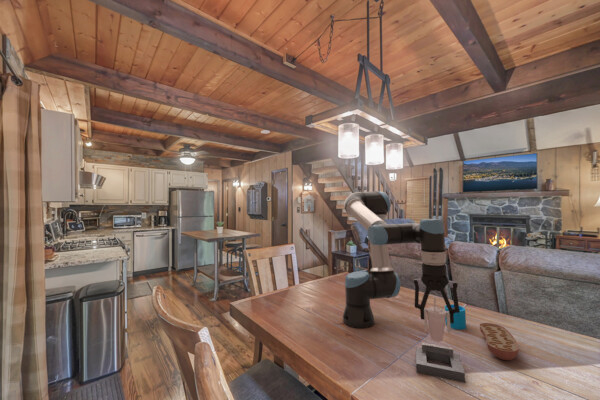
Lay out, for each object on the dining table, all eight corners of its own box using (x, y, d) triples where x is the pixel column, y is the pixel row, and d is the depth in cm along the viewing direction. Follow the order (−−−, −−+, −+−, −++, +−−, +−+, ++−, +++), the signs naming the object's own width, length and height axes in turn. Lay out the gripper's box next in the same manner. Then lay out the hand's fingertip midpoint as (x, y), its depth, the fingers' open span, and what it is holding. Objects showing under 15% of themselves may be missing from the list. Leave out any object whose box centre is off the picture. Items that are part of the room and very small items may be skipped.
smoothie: (422, 334, 92) (422, 294, 92) (439, 334, 92) (439, 294, 93) (433, 344, 85) (433, 301, 86) (451, 343, 86) (451, 301, 86)
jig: (416, 372, 87) (415, 357, 87) (416, 355, 97) (415, 341, 97) (465, 382, 81) (464, 366, 81) (459, 363, 91) (459, 348, 91)
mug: (465, 331, 113) (464, 312, 114) (444, 326, 118) (443, 308, 118) (467, 321, 123) (466, 303, 123) (447, 317, 128) (447, 300, 128)
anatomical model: (478, 333, 112) (477, 321, 112) (506, 337, 107) (506, 325, 108) (489, 362, 91) (489, 347, 91) (525, 369, 87) (524, 354, 87)
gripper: (403, 263, 90) (406, 330, 89) (468, 267, 82) (472, 340, 81) (404, 259, 97) (407, 321, 96) (464, 262, 89) (468, 330, 88)
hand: (437, 330), depth 89 cm, fingers closed on smoothie, 6 cm apart
